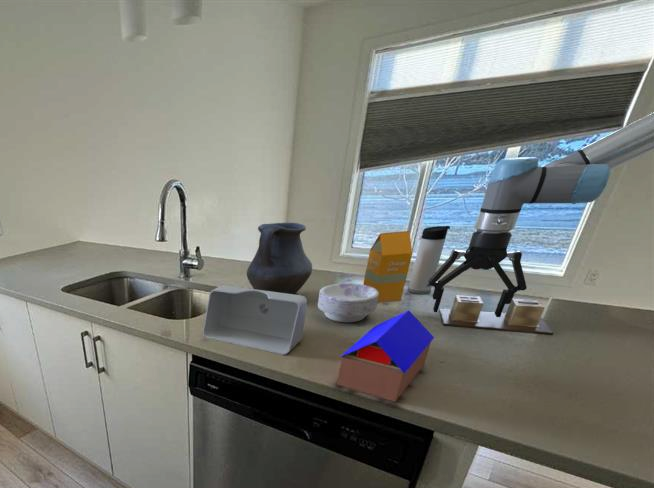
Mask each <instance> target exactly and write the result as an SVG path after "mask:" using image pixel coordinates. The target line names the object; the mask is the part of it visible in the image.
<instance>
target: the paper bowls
mask: <svg viewBox="0 0 654 488" xmlns="http://www.w3.org/2000/svg"><path fill="white" fill-rule="evenodd" d="M378 296H379V292H378V291H377V290H376V289H375V288H373V287H370V286H366V285H363V284H359V283H346V282H345V283H334V284H329V285H326V286H323V287H322V288H321V289H320V290H319V294H318V301H317V308H318V309H319V310H320V311H321V312H324V315H325V316H326V318H328V319H329V320H331V321H334V322H339V323H356V322H360V321H362V320H364V319H365V317H366V316H367V315H371V314H373V313H374V312H375V311H376V309H377V305H378V303H379V302H378Z"/></svg>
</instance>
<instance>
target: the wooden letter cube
mask: <svg viewBox="0 0 654 488" xmlns="http://www.w3.org/2000/svg"><path fill="white" fill-rule="evenodd" d="M484 304H485V303H484V301H483V299H482V296H477V295H476V296H474V295H457V294H455V295H454V300H453V303H452V305H451V308H450V309H451V312H450V313H451V316H452V319H453V320H466V321H478V318H479V315H480V312H481V311H482V309H483V307H484Z"/></svg>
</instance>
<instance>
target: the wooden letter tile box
mask: <svg viewBox="0 0 654 488" xmlns="http://www.w3.org/2000/svg"><path fill="white" fill-rule="evenodd" d="M545 308H546V306H545V305H544V304H543V303H542V302H541V301H540V300H539V299H528V298H527V299H525V298H512V301H511V303H510V304H508V307H507V310H506V312H505V313H506V315H505V318H506V319H507V321H508V323H509V324H516V325H529V326H537V324H538V322H539V320H540V317H541V318H542V315H543V313H544V311H545Z"/></svg>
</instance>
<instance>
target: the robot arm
mask: <svg viewBox="0 0 654 488" xmlns="http://www.w3.org/2000/svg"><path fill="white" fill-rule="evenodd" d="M652 152H654V111H653V112H651V113H649V114H647V115H645V116H643V117H642V118H640V119H638V120H635V121H633V122H631V123H630V124H628V125H626V126H623V127H622V128H620V129H617V130H616V131H614V132H612V133H609V134H608V135H605V136H604V137H601V138H600V139H598V140H596V141H594V142H592V143H590V144H588V145H586V146H584V147H582V148H580V149H578V150H576V151H574V152H572V153H570V154H568V155H566V156H564V157H562V158H560V159H555V160H552V161H549V162H547V163H545V164H544V165H542V166H541V165H539V162H540V161H539V157H536V156H535V157H534V156H527V157H521V156H520V157H509V158H503V159H500V160H498V161H497V162H496V163H495V165H494V167H493V169H492V173H491V175H490V177H489V180H488V183H487V187H486V190H485V193H484V196H483V201H482V203H481V207H480V210H479V213H478V216H477V218H476V219H477V220H476V222H475V224H474V229H475V230H474V231H473V232H472V235H471V238H470V241H469V244H468V247H467V248H466V250H458V249H457V248H454V249H452V250H451V252H450V255H449V257H448V258H447V259H446V261H444V262H443V263H442V264H441V266H440V267H439V268H437V271H436V273H435V274H434V275H433V276H432V277H431V278H430V279H429V281H428V283H429V285H430V286H432V287H433V292H432V295H431V297H432V300H435V302H434V304H433V308H432V309H433V313H438V312H439V309H440V304H441V301H442V299H443V294H444V291H445V288H444V286H445V285H447V284H448V283H450V282H451V281H453V280H454V279H456V278H457V277H458V276H459V275H461V274H463V273H464V272H467V271H468V270H469V269H473V270H483V271H484V270H485V271H489V270H492V269H494V270H495V272H496V274H497V275H498V276H499V278H500V279H501V281H502V282H503V283H504V285H505V286H506V288H507V289H503V290H502V292H501V294H500V298H499V299H498V302H497V304H496V305H497V306H496V308H495V311H494V312H495V315H496V317H500V316H501V314H502V313H503V312H504V308H505V306H506V305H510V303H511V301H512V299H514V295H515V294H516V293H517V292H519V291H526V290H527V288H528V287H527V283H526V279H525V275H524V271H523V266H522V262H521V261H522V257H523V253H522V252H521V251H520V250H519V249H516V250H514V251H507V249H508V247H509V245H510V242H511V238H512V236H513V232H512V230H514V229H515V228H516V224H517V223H518V222H517V221H518V219H519V216H520V212H521V210H522V208H523V206H524V204H529V205H531V204H532V205H533V204H572V205H576V204H587V203H593V202H595V201H596V200H597V199H598V198H600V197H601V195H602V193H603V192H604V190H605V189H606V186H607V184H608V182H609V180H610V176H611V171H613V170H615V169H617V168H619V167H621V166H623V165H626V164H628V163H630V162H632V161H634V160H637V159H639V158H641V157H643V156H646V155H648V154H650V153H652ZM462 257H464V259H465V260H464V261H463V262H462V263H460V265H458V266H457V267H456V268H454V269H452V271H450V272H449V273H447V274H446V272H447V271H448V270H449V269H450V268H451V267H452V266H453V264H455V262H456V261H457V260H460V259H461V258H462ZM506 258H508V260H509V261H510V262H511V265H512V269H513V272H514V276H515V277H514V278H515V281H516V284H514V283H513V281H511V279H510V278H509V277H508V274H507V273H506V271H504V269H503V267H502V266H501V264H500V263H501V262H502V261H504V260H505V259H506ZM444 274H446V275H444Z"/></svg>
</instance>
